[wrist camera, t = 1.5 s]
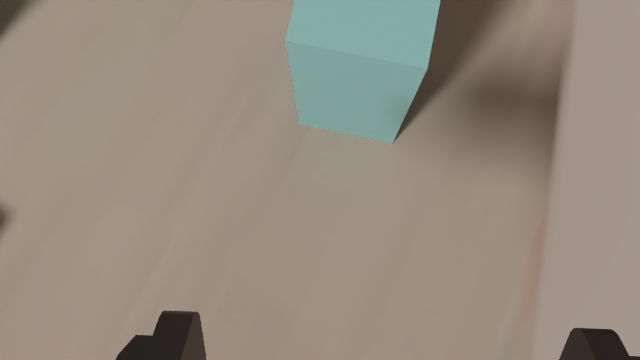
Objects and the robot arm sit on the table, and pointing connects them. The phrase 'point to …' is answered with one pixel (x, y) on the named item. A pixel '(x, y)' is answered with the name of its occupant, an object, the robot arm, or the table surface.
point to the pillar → (359, 62)
